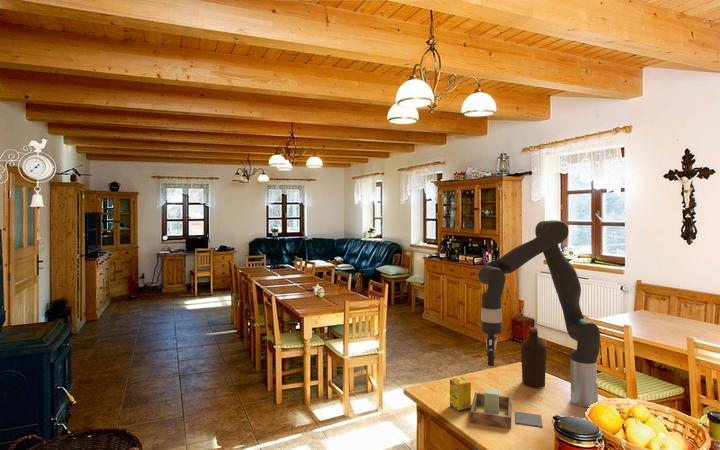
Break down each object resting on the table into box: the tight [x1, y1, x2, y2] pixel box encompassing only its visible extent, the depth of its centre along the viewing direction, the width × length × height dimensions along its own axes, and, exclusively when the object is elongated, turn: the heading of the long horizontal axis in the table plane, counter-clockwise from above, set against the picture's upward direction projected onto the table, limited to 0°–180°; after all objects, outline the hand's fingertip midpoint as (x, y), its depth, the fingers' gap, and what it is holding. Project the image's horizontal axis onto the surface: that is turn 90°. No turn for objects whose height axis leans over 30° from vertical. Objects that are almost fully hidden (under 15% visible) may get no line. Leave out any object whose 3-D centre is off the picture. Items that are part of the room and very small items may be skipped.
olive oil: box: [520, 327, 548, 389], centre depth 192 cm, size 11×11×25 cm
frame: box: [469, 391, 513, 429], centre depth 164 cm, size 14×18×4 cm
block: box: [483, 387, 500, 415], centre depth 164 cm, size 5×5×9 cm
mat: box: [515, 411, 543, 428], centre depth 160 cm, size 9×9×1 cm
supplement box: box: [449, 376, 472, 413], centre depth 170 cm, size 6×6×11 cm
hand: (491, 362), depth 164 cm, fingers open, 8 cm apart
